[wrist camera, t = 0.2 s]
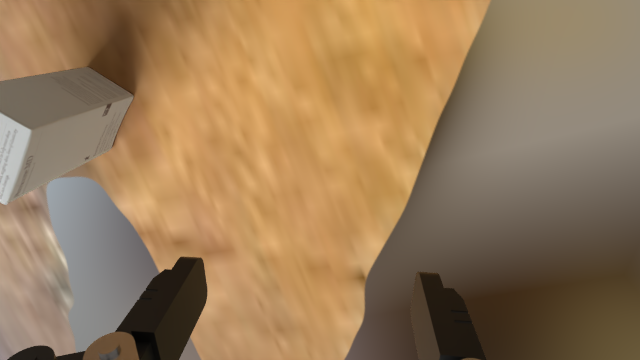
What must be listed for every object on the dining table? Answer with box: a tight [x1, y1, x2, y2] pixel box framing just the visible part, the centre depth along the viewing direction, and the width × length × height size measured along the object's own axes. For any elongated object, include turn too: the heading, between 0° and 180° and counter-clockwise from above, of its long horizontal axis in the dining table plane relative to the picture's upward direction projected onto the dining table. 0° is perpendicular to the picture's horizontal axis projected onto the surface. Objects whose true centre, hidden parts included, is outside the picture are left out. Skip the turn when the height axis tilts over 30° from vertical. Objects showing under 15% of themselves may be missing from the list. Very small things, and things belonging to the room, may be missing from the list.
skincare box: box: [0, 67, 134, 205], centre depth 35 cm, size 8×6×15 cm
